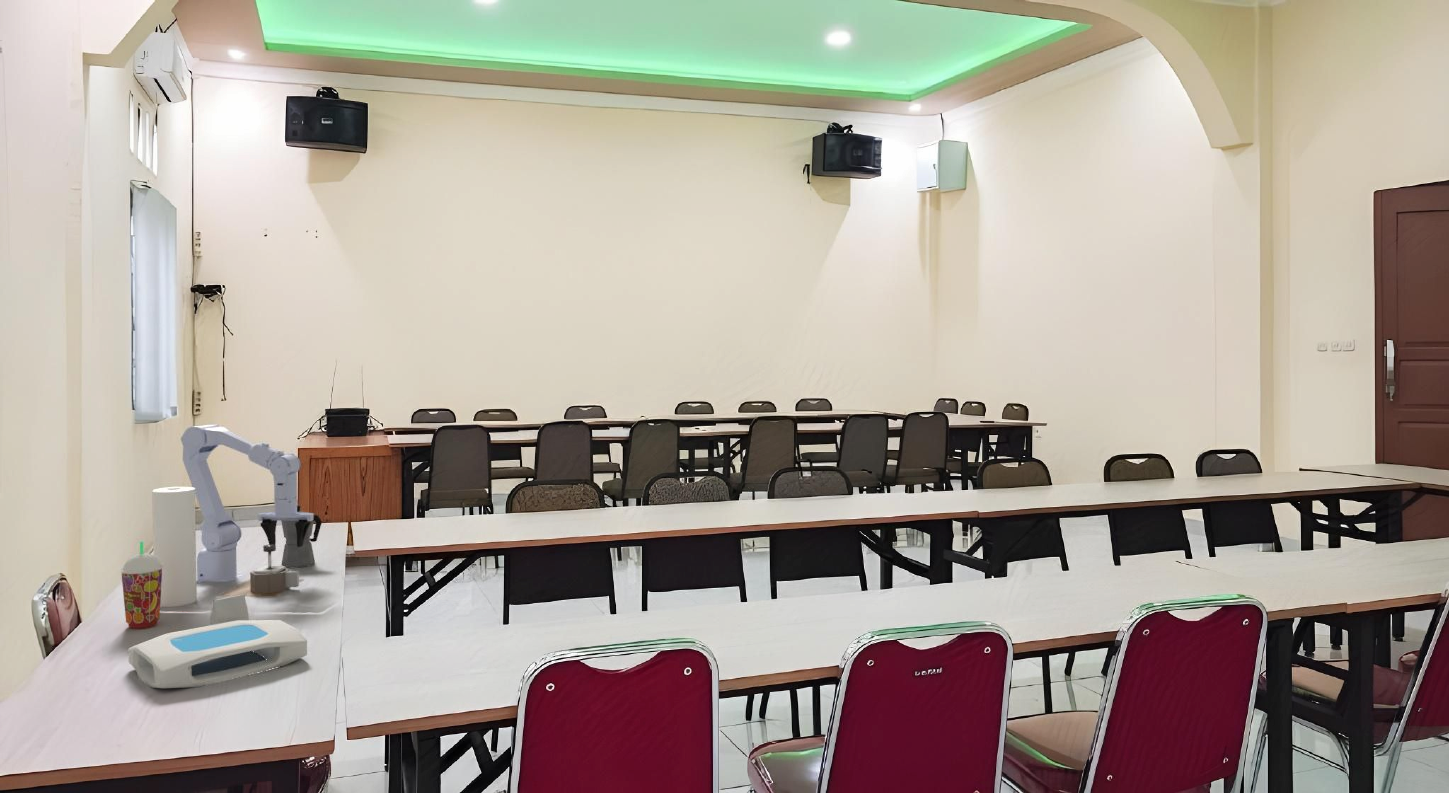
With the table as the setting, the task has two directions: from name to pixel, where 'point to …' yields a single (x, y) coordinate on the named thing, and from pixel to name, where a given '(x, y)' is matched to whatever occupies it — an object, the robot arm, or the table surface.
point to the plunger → (269, 555)
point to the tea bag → (229, 610)
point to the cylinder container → (175, 543)
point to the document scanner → (215, 652)
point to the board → (247, 591)
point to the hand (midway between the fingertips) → (286, 546)
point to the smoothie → (142, 589)
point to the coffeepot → (292, 553)
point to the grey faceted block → (273, 579)
